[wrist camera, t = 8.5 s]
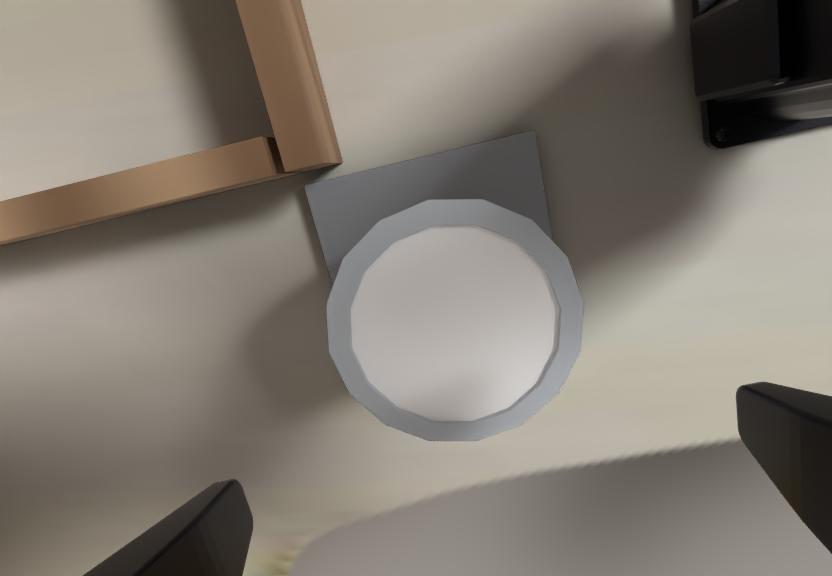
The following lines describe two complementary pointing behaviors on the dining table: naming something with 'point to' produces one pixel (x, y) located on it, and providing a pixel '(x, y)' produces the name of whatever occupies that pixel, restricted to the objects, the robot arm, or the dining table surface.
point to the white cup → (454, 320)
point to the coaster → (428, 190)
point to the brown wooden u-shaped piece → (218, 167)
